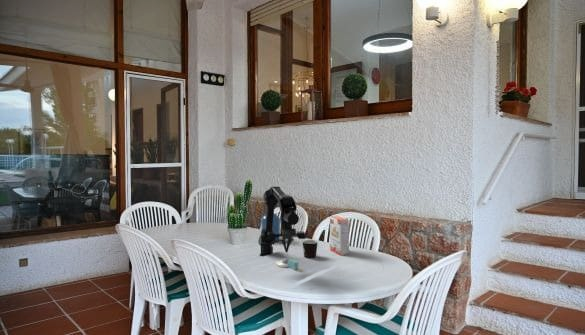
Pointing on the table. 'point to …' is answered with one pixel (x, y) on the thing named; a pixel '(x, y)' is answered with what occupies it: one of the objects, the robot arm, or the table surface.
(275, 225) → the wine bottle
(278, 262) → the dial
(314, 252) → the coffee mug
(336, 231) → the cracker box
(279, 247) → the table surface
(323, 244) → the table surface
